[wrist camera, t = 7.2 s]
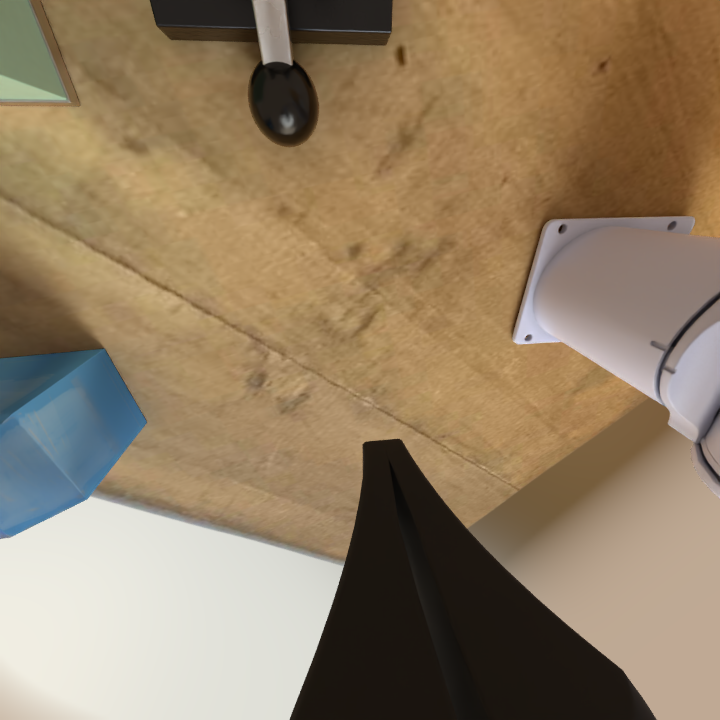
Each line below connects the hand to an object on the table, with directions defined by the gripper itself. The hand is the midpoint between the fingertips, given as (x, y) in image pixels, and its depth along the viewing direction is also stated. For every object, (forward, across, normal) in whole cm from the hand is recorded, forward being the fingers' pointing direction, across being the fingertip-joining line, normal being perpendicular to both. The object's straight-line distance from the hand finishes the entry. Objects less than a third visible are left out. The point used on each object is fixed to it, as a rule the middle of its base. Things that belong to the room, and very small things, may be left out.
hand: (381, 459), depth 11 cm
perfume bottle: (+11, +19, +3) cm, 22 cm away
